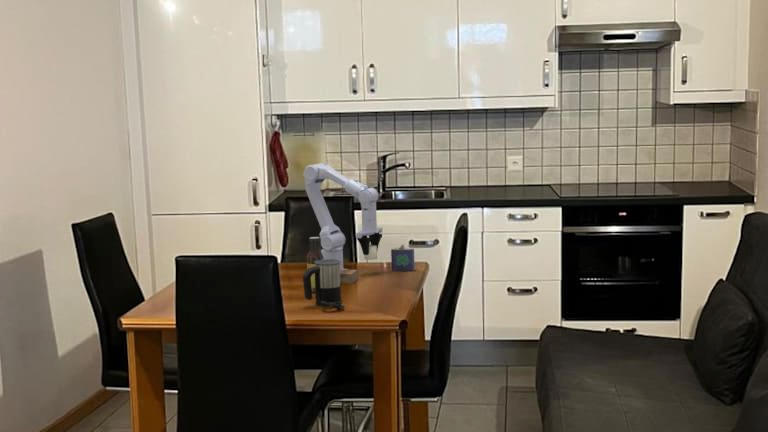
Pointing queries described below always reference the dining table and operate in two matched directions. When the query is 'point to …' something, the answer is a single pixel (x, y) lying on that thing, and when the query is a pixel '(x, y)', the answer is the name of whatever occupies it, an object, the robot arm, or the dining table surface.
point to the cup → (371, 253)
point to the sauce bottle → (314, 257)
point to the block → (348, 276)
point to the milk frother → (324, 283)
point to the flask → (402, 259)
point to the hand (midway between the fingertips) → (370, 253)
